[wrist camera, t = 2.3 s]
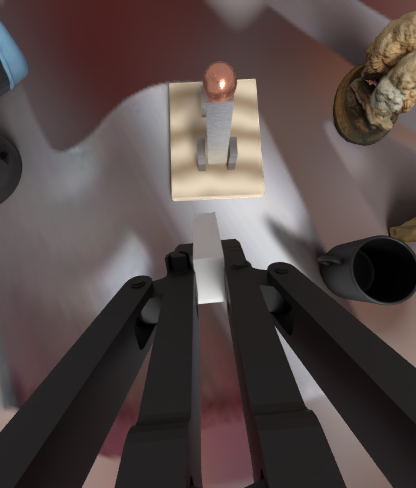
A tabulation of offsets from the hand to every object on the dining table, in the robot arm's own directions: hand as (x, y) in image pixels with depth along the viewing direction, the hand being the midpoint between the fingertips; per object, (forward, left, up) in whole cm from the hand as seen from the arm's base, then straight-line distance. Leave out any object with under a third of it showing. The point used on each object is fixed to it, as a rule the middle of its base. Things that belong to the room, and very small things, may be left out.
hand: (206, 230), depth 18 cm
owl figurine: (+13, +39, -24) cm, 47 cm away
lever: (-6, +15, -20) cm, 26 cm away
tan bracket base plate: (-9, +20, -24) cm, 32 cm away
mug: (+21, +9, -24) cm, 33 cm away
